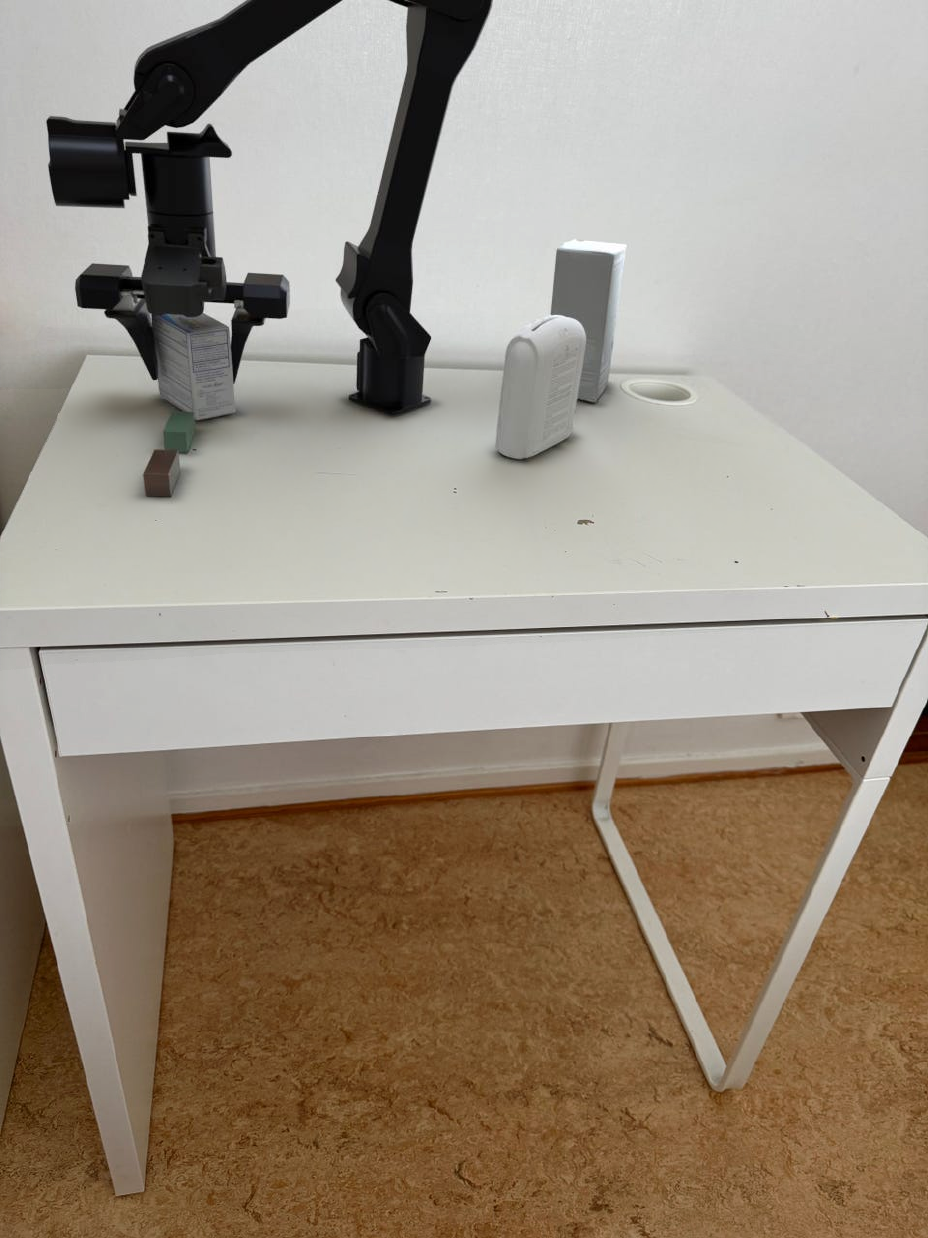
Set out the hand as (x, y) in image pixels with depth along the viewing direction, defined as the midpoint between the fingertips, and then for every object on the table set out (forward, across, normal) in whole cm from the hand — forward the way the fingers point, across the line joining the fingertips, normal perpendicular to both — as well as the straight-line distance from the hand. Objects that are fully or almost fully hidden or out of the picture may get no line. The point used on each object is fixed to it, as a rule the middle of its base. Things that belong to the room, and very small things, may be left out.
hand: (194, 380), depth 90 cm
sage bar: (+3, 0, -9) cm, 9 cm away
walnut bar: (+3, 0, -18) cm, 18 cm away
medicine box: (+3, 0, 0) cm, 3 cm away
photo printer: (+3, +34, -6) cm, 34 cm away
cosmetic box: (+3, +41, +11) cm, 43 cm away
